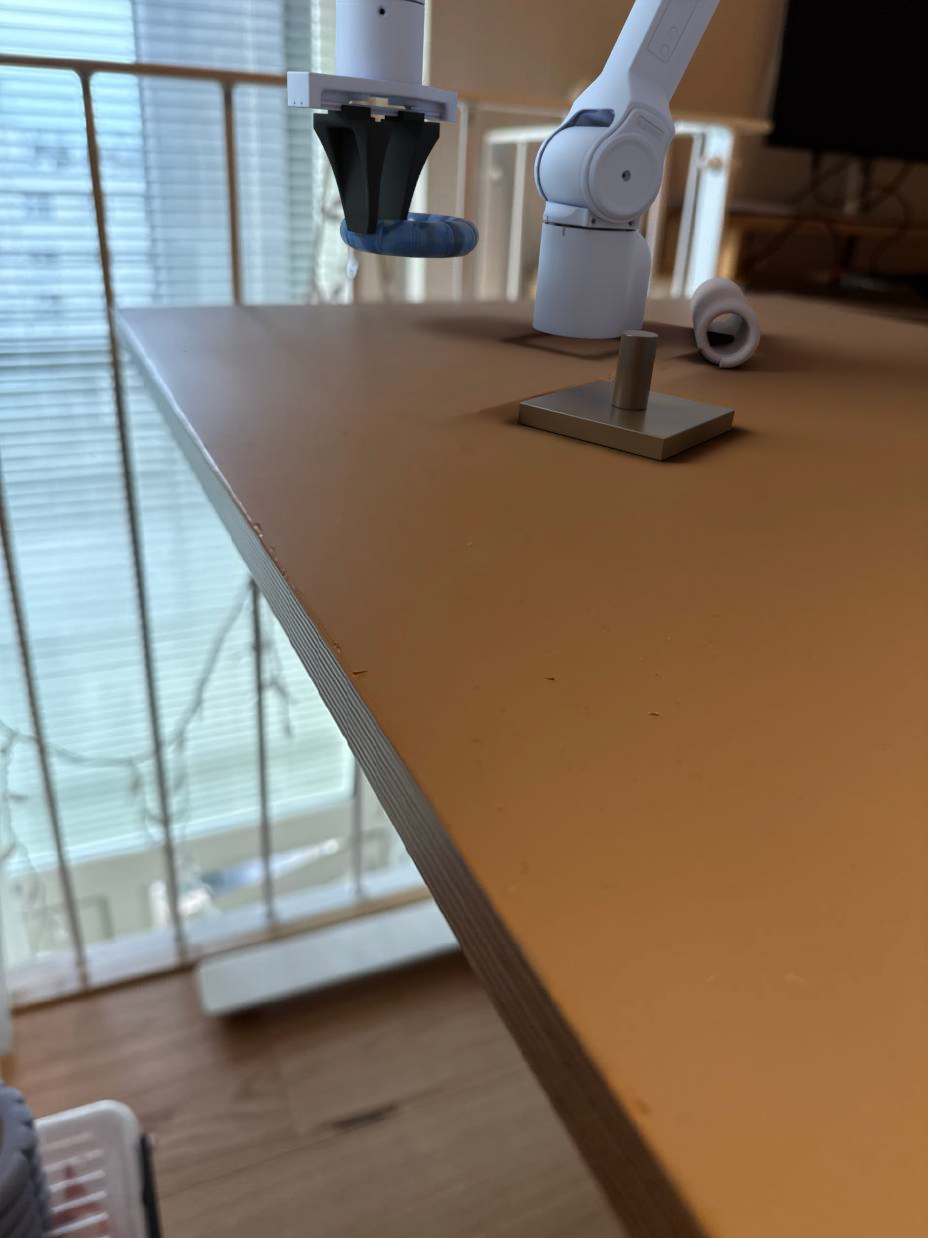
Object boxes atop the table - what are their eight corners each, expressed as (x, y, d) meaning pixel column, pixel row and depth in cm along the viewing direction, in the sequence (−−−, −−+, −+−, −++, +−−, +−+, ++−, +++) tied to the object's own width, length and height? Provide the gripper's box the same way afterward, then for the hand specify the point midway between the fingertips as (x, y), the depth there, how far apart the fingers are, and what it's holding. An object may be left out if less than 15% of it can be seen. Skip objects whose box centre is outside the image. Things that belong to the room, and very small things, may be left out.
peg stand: (597, 398, 59) (609, 313, 56) (731, 429, 54) (749, 338, 52) (517, 423, 52) (526, 327, 50) (661, 461, 48) (678, 358, 45)
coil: (770, 311, 68) (749, 281, 83) (706, 298, 68) (698, 271, 84) (750, 374, 70) (733, 334, 86) (688, 361, 70) (683, 323, 86)
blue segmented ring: (403, 240, 75) (404, 208, 74) (502, 255, 70) (505, 221, 69) (312, 245, 68) (312, 210, 67) (416, 263, 63) (418, 224, 62)
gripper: (407, 19, 67) (401, 223, 73) (250, -14, 56) (258, 228, 62) (485, 18, 63) (472, 233, 69) (333, -18, 53) (333, 239, 59)
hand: (375, 231), depth 66 cm, fingers closed on blue segmented ring, 2 cm apart
